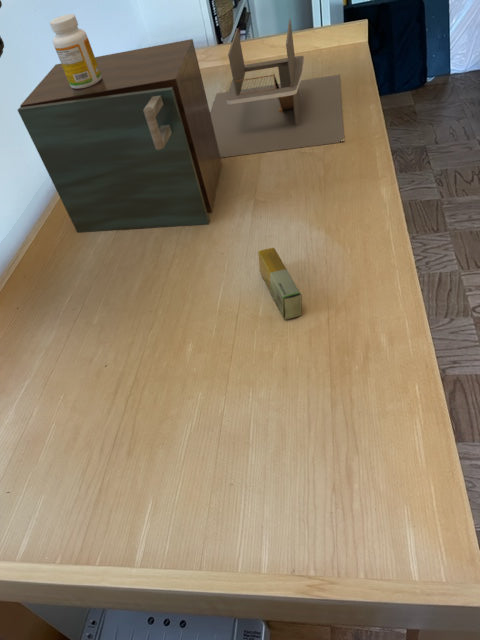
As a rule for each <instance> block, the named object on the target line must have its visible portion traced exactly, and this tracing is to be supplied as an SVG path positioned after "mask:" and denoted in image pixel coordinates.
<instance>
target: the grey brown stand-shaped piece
mask: <svg viewBox="0 0 480 640" xmlns="http://www.w3.org/2000/svg"><path fill="white" fill-rule="evenodd" d="M285 40H286V41H285V48H286V56H287V57H285V58H278V59H273V60H265V61H261V62H254V63H249V64H245V60H244V54H243V48H242V44H241V37H240V32H239V28H236V29H235V32H234V35H233V38H232V41H231V44H230V46H229V50H228V53H227V57H228V62H229V66H230V67H229V68H230V71H231V76H232V80H231V83H230V86H229V90H228V91H223V92H218V93H216V94H215V97H214V100H213V104H212V106H211V110H210V115H211V119H212V123H213V128H214V132H215V136H216V140H217V145H218V149H219V153H220V157H221V158H229V157H236V156H244V155H252V154H260V153H268V152H276V151H283V150H289V149H291V150H292V149H299V148H306V147H314V146H315V147H316V146H323V145H329V144H331V145H332V144H337V143H338V144H339V143H343V142H342V141H341V140H343V139H344V140H345V128H344V127H345V126H344V114H343V101H342V100H343V99H342V88H341V87H342V84H341V74H334V75H333V74H332V75H328V76H327V75H326V76H321V77H314V78H308V79H303V72H304V64H305V56H304V55H295V46H294V37H293V28H292V21H291V18H289V19H288V25H287V33H286V39H285ZM273 68H277V69H278V76H279V83H278V80H277V77H276V75H275V73H273V74H269V75H263V76H256V77H251V78H245V76H246V73H248V72H255V71H261V70H268V69H273ZM272 77H273V79H272ZM254 80H255V81H254ZM266 80H268V81H266ZM261 83H262V84H261ZM268 83H270V84H268ZM252 85H253V86H252ZM343 137H344V138H343ZM340 141H341V142H340Z"/></svg>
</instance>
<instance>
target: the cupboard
mask: <svg viewBox="0 0 480 640" xmlns="http://www.w3.org/2000/svg"><path fill="white" fill-rule="evenodd" d="M95 59H96V62H97V65H98V67H99V70H100V73H101V76H102V78H101V80H100V81H99V82H98V83H96V84H94V85H92V86H90V87H86V88H82V89H74V88H72V87H71V86H70V84H69V82H68V79H67V77H66V74H65V72H64V69H63V67H62V64H61V63H57V64H55V65H54V66H53V67H52V68H51V69H50V70H49V71H48V73H47V74H46V75H45V76H44V77H43V79H41V81H39V83H38V84H37V85H36V86H35V88H34V89H33V90H32V91H31V92H30V93H29V94H28V96H27V97H26V98H25V99H24V100H23V102H22V103H21V104H20V106H19V108H20V107H26V106H34V105H41V104H49V103H56V102H64V101H71V100H79V99H86V98H94V97H101V96H109V95H117V94H124V93H132V92H139V91H147V90H154V89H162V88H169V87H173V90H174V94H175V98H176V101H177V105H178V108H179V112H180V116H181V119H182V123H183V126H184V130H185V134H186V137H187V141H188V145H189V148H190V152H191V155H192V159H193V163H194V166H195V170H196V174H197V177H198V181H199V184H200V188H201V192H202V195H203V199H204V203H205V206H206V210H207V213H208V214H212V213H213V210H214V205H215V200H216V195H217V191H218V185H219V182H220V181H219V180H220V177H221V172H222V167H223V162H222V157H220V153H219V149H218V145H217V140H216V136H215V132H214V128H213V123H212V119H211V115H210V112H211V110H210V107H209V102H208V97H207V93H206V90H205V86H204V82H203V77H202V72H201V69H200V64H199V60H198V55H197V52H196V47H195V44H194V39H193V38H191V39H185V40H180V41H174V42H169V43H164V44H157V45H153V46H148V47H141V48H137V49H131V50H126V51H121V52H116V53H115V52H114V53H110V54H105V55H100V56H95Z"/></svg>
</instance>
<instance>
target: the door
mask: <svg viewBox="0 0 480 640" xmlns="http://www.w3.org/2000/svg"><path fill="white" fill-rule="evenodd" d="M17 113H18V114H19V117H20V118H21V120H22V122H23V125H24V127H25V129H26V130H27V133H28V135H29V137H30V139H31V141H32V143H33V146H34V147H35V150H36V151H37V153H38V155H39V158H40V159H41V161H42V164H43V166H44V167H45V169H46V172H47V174H48V175H49V178H50V180H51V182H52V184H53V186H54V188H55V190H56V192H57V194H58V197H59V198H60V200H61V203H62V204H63V206H64V209H65V211H66V212H67V215H68V217H69V219H70V221H71V223H72V225H73V227H74V229H75V231H76V233H88V232H107V231H122V230H123V231H124V230H138V229H152V228H170V227H171V228H172V227H187V226H188V227H189V226H202V225H209V224H210V218H209V213H207V210H206V206H205V203H204V199H203V195H202V192H201V188H200V184H199V181H198V177H197V174H196V170H195V166H194V163H193V159H192V155H191V152H190V148H189V145H188V141H187V137H186V134H185V130H184V126H183V123H182V119H181V116H180V112H179V108H178V105H177V101H176V98H175V94H174V90H173V87H169V88H162V89H154V90H147V91H139V92H132V93H124V94H117V95H109V96H101V97H94V98H86V99H79V100H71V101H64V102H56V103H49V104H41V105H34V106H26V107H20V106H19V108H17Z"/></svg>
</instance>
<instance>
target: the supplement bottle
mask: <svg viewBox="0 0 480 640" xmlns="http://www.w3.org/2000/svg"><path fill="white" fill-rule="evenodd" d="M49 25H50V28H51V30H52V32H53V33H54V34H55V36H54V37H53V39H52V45H53V48H54V49H55V52H56V55H57V57H58V59H59V63H60V64H62V67H63V69H64V72H65V74H66V77H67V79H68V82H69V84H70V86H71V87H72V88H74V89H82V88H86V87H90V86H92V85H94V84H96V83H98V82H99V81H100V80H101V78H102V76H101V73H100V70H99V67H98V65H97V62H96V59H95V57H96V56H95V54H94V51H93V49H92V45H91V42H90V40H89V37H88V34H87V32H86V31H85V30H84V29H82V28H79V22H78V20H77V17H76V15H75V14H74V13H69V14H63V15H60V16H57V17H55V18H54V19H51V20H50V21H49Z"/></svg>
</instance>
